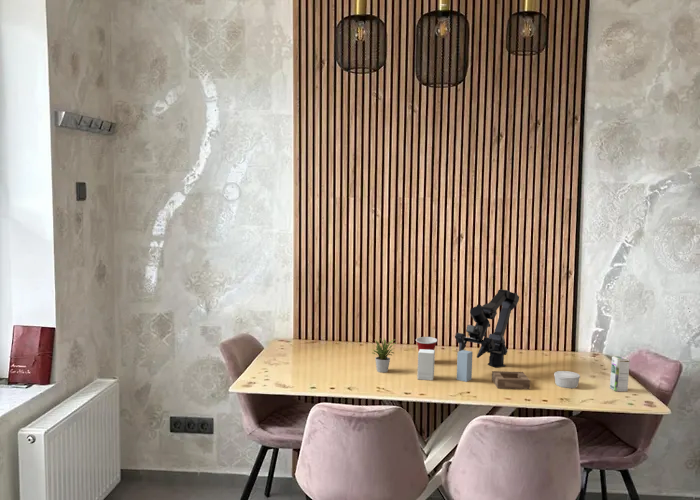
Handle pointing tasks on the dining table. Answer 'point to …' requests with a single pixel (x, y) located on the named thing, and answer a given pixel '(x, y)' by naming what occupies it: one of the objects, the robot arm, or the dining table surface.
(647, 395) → the dining table surface
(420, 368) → the supplement box
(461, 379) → the slate blue peg
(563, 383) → the ramekin
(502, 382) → the walnut socket block
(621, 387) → the syrup box
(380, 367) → the house plant
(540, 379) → the dining table surface
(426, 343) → the plastic cup
